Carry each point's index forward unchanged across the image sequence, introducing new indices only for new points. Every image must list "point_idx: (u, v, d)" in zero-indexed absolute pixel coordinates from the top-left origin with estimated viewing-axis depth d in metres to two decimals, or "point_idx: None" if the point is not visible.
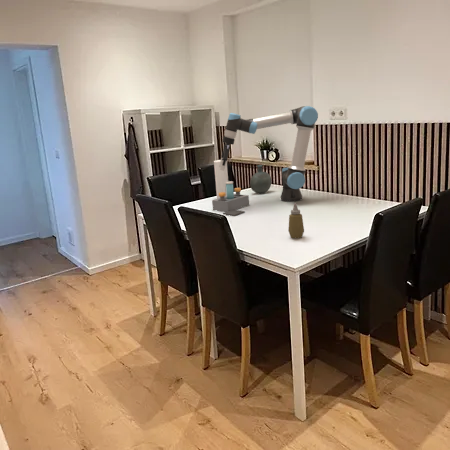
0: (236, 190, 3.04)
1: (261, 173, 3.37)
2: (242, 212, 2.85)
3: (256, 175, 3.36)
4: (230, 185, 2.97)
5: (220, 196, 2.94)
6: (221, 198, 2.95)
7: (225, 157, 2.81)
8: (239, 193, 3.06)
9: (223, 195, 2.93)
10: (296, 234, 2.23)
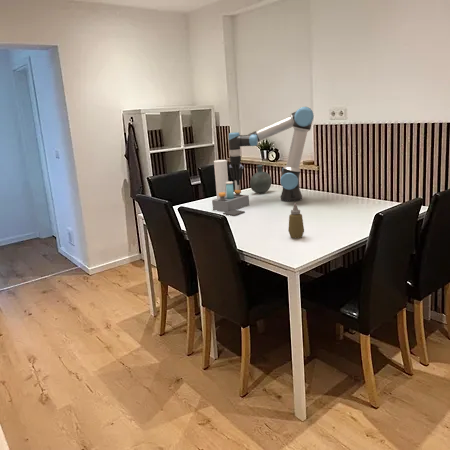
0: (236, 192, 3.05)
1: (261, 173, 3.37)
2: (242, 212, 2.85)
3: (256, 175, 3.36)
4: (230, 185, 2.97)
5: (220, 196, 2.94)
6: (221, 198, 2.95)
7: (240, 177, 3.02)
8: (239, 195, 3.06)
9: (223, 195, 2.93)
10: (296, 234, 2.23)
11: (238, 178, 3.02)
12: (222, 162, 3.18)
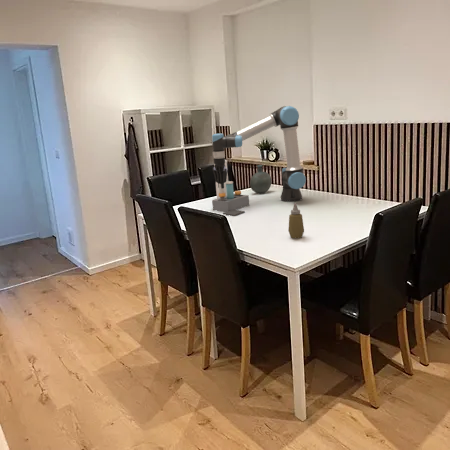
0: (236, 193, 3.05)
1: (261, 173, 3.37)
2: (242, 212, 2.85)
3: (256, 175, 3.36)
4: (230, 185, 2.97)
5: (220, 196, 2.94)
6: (221, 198, 2.95)
7: (224, 180, 2.90)
8: None
9: (223, 195, 2.93)
10: (296, 234, 2.23)
11: (222, 181, 2.90)
12: None
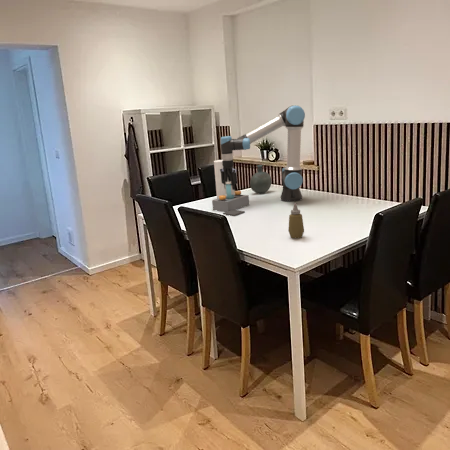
0: (236, 193, 3.05)
1: (261, 173, 3.37)
2: (242, 212, 2.85)
3: (256, 175, 3.36)
4: (230, 185, 2.97)
5: (220, 199, 2.94)
6: None
7: (235, 182, 2.95)
8: None
9: (223, 198, 2.94)
10: (296, 234, 2.23)
11: (233, 183, 2.95)
12: None
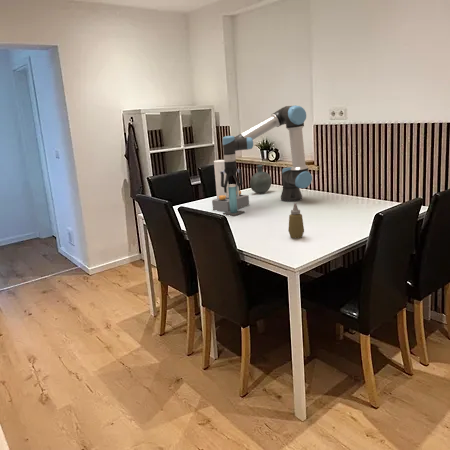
0: (236, 193, 3.05)
1: (261, 173, 3.37)
2: (242, 212, 2.85)
3: (256, 175, 3.36)
4: (235, 187, 2.82)
5: (220, 199, 2.94)
6: None
7: None
8: None
9: (223, 198, 2.94)
10: (296, 234, 2.23)
11: (241, 183, 2.82)
12: (222, 162, 3.18)
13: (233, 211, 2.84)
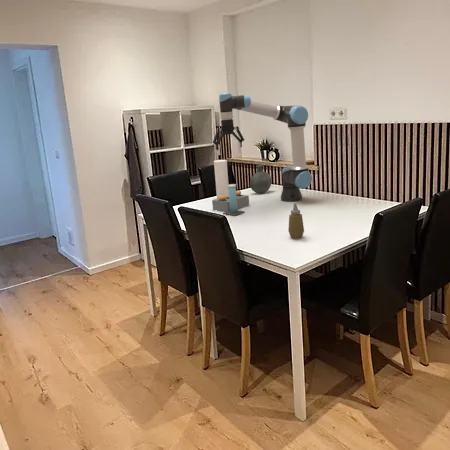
0: (236, 193, 3.05)
1: (261, 173, 3.37)
2: (242, 212, 2.85)
3: (256, 175, 3.36)
4: (235, 187, 2.82)
5: (220, 199, 2.94)
6: None
7: None
8: None
9: (223, 198, 2.94)
10: (296, 234, 2.23)
11: (242, 139, 2.76)
12: (222, 162, 3.18)
13: (233, 211, 2.84)
